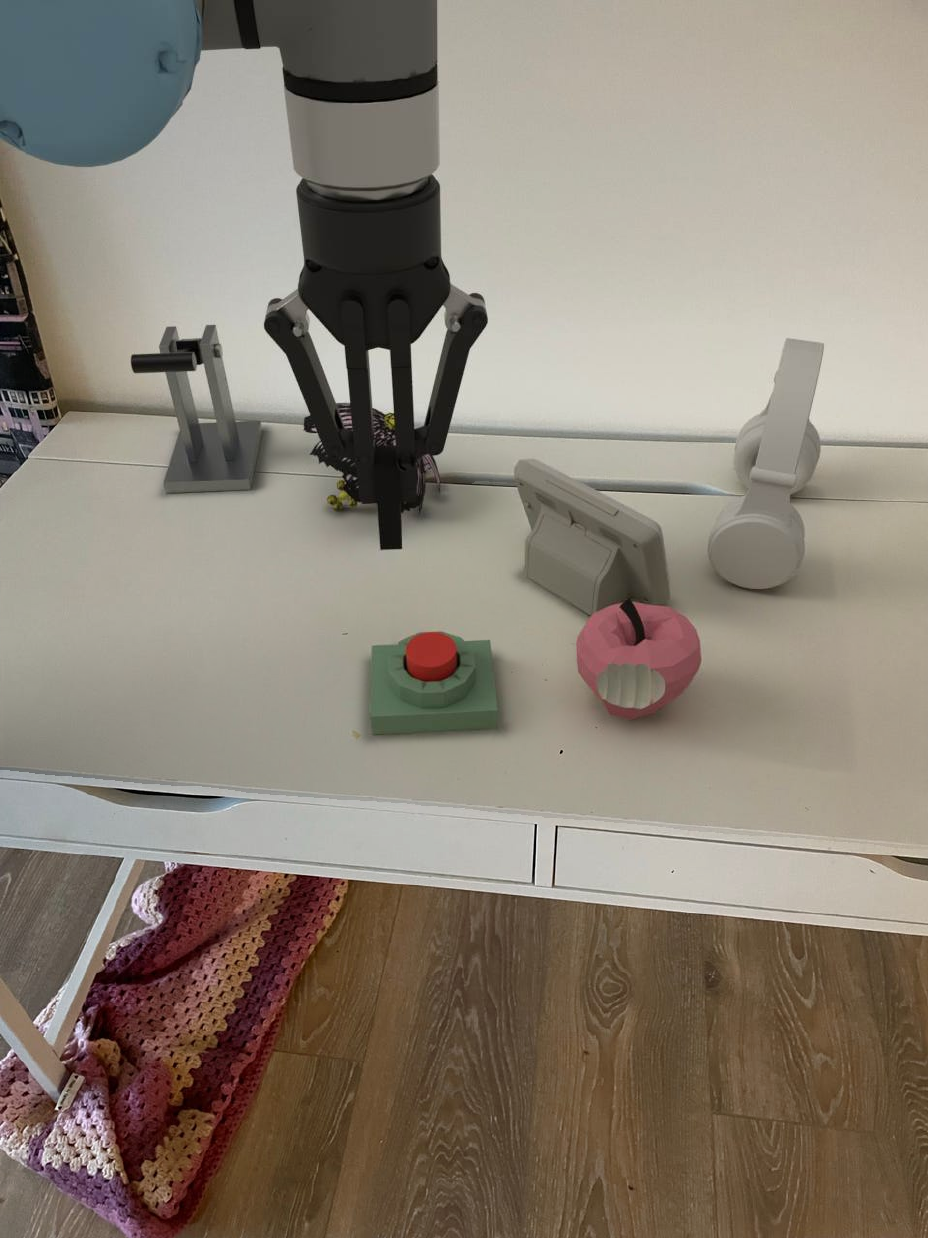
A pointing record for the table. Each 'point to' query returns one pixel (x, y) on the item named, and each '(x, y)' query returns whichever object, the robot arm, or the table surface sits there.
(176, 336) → the bracket
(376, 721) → the button box
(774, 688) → the table surface
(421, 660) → the button
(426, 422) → the robot arm
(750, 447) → the headphones
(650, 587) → the digital clock
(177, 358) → the lever
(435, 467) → the decorative flower
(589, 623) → the apple
